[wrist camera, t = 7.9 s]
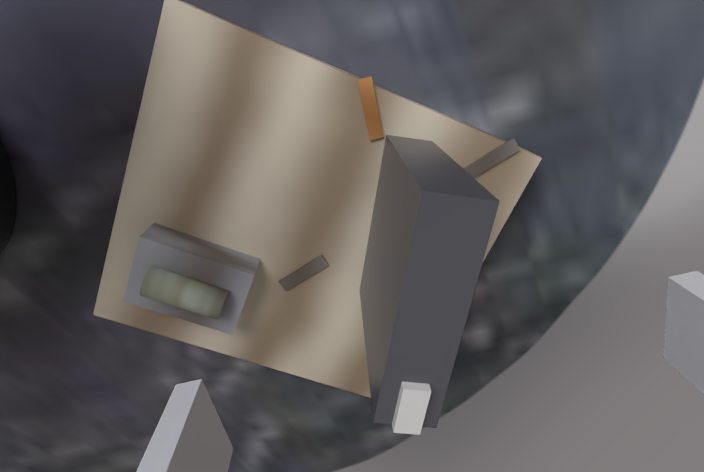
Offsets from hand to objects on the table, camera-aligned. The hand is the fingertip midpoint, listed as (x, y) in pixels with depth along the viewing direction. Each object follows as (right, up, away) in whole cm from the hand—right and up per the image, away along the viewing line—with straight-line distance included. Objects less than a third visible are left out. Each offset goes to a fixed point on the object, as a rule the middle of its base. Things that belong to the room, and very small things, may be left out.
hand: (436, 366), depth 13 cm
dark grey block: (0, +5, +12) cm, 13 cm away
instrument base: (-5, +5, +15) cm, 17 cm away
